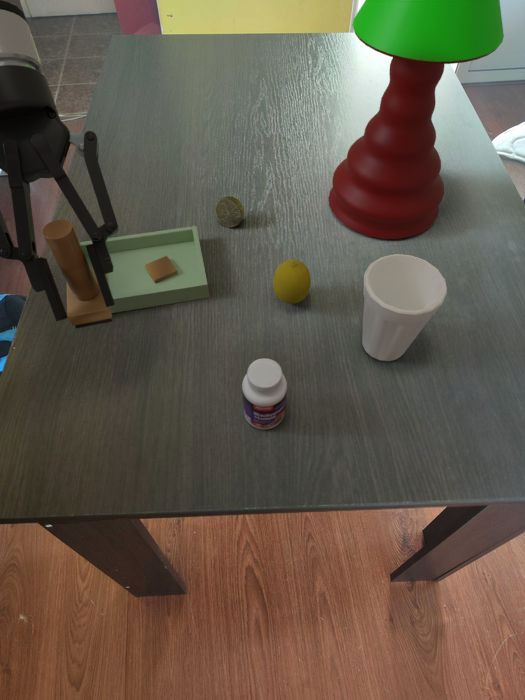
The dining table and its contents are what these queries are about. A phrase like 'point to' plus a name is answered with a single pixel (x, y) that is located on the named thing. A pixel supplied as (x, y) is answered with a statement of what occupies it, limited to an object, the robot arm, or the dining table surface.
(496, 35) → the table lamp
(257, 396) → the pill bottle
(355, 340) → the dining table surface
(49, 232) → the cylinder on block base
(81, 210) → the robot arm
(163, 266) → the flat brown square tile
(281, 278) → the lemon
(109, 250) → the tray
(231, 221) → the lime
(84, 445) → the dining table surface
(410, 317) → the cup
